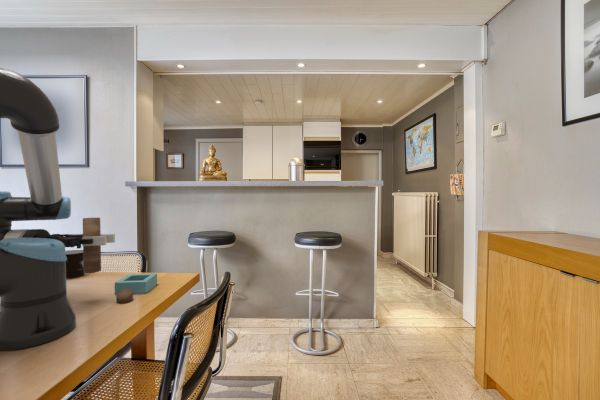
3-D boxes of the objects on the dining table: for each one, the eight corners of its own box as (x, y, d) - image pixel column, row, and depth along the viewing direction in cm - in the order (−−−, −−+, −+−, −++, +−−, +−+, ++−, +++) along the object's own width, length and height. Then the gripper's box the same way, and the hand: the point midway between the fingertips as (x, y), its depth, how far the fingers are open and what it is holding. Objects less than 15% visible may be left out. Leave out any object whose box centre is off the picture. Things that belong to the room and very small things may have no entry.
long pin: (95, 272, 88) (95, 218, 88) (80, 273, 87) (79, 218, 87) (104, 269, 92) (103, 217, 92) (89, 269, 92) (88, 217, 92)
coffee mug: (78, 272, 122) (77, 249, 121) (92, 274, 119) (92, 250, 119) (46, 280, 111) (46, 254, 110) (62, 282, 108) (61, 256, 108)
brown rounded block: (131, 301, 89) (130, 292, 89) (114, 304, 87) (114, 295, 87) (134, 296, 93) (133, 287, 93) (118, 299, 91) (117, 290, 91)
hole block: (146, 293, 97) (146, 281, 96) (114, 294, 95) (114, 282, 95) (157, 284, 106) (157, 273, 106) (128, 284, 105) (128, 274, 105)
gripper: (50, 248, 96) (123, 246, 99) (3, 259, 79) (93, 256, 82) (50, 226, 96) (123, 225, 99) (3, 232, 79) (93, 230, 82)
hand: (109, 239), depth 90 cm, fingers closed on long pin, 4 cm apart
